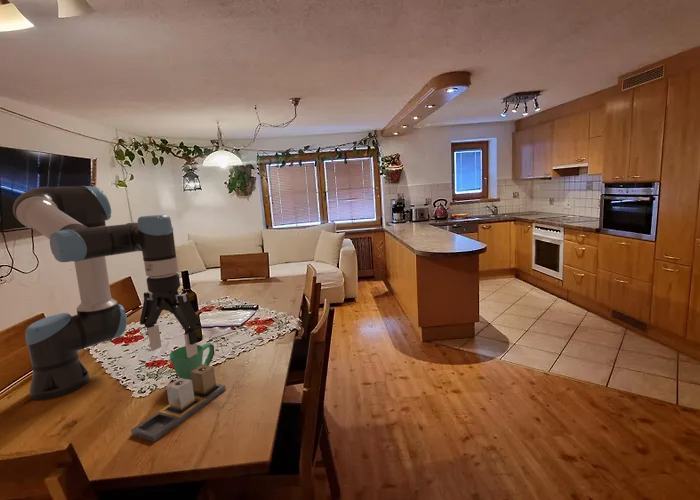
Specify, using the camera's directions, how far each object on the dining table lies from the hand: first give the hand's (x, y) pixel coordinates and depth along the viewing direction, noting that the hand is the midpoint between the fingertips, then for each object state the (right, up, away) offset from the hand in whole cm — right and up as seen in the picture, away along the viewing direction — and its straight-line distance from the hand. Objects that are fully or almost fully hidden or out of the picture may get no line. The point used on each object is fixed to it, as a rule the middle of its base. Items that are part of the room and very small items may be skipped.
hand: (173, 352), depth 95 cm
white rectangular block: (+1, -17, +2) cm, 17 cm away
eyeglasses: (+1, -11, +47) cm, 48 cm away
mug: (-3, -15, +22) cm, 26 cm away
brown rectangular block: (+5, -15, +10) cm, 19 cm away
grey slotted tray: (+1, -17, +2) cm, 17 cm away
